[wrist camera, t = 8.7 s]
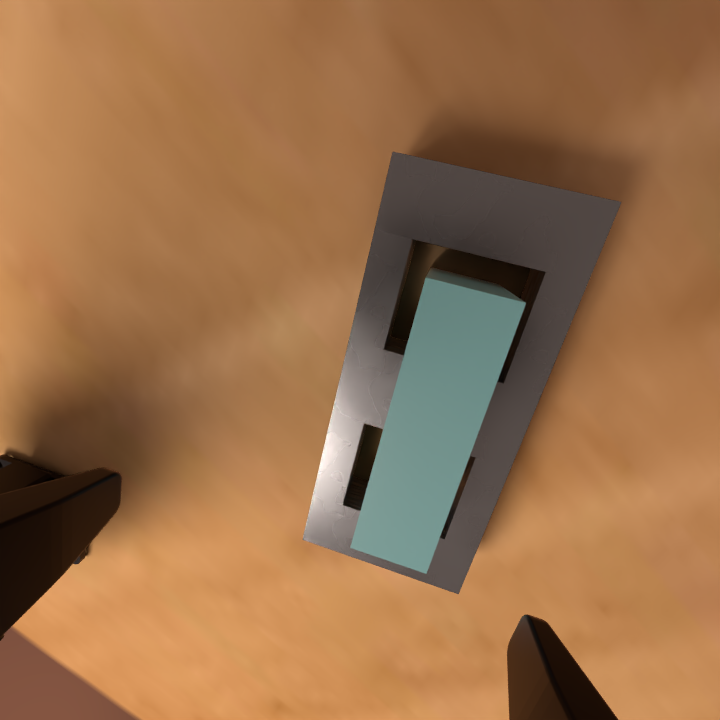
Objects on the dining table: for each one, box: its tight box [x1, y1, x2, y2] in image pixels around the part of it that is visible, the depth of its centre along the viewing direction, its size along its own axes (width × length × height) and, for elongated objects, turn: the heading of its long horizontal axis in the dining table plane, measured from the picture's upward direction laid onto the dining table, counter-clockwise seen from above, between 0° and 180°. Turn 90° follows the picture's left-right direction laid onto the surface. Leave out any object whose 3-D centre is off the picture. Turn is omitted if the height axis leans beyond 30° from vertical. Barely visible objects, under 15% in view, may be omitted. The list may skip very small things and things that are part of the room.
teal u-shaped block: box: [350, 267, 526, 574], centre depth 16 cm, size 10×3×6 cm, turn 167°
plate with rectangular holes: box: [303, 152, 621, 594], centre depth 18 cm, size 18×8×2 cm, turn 167°
